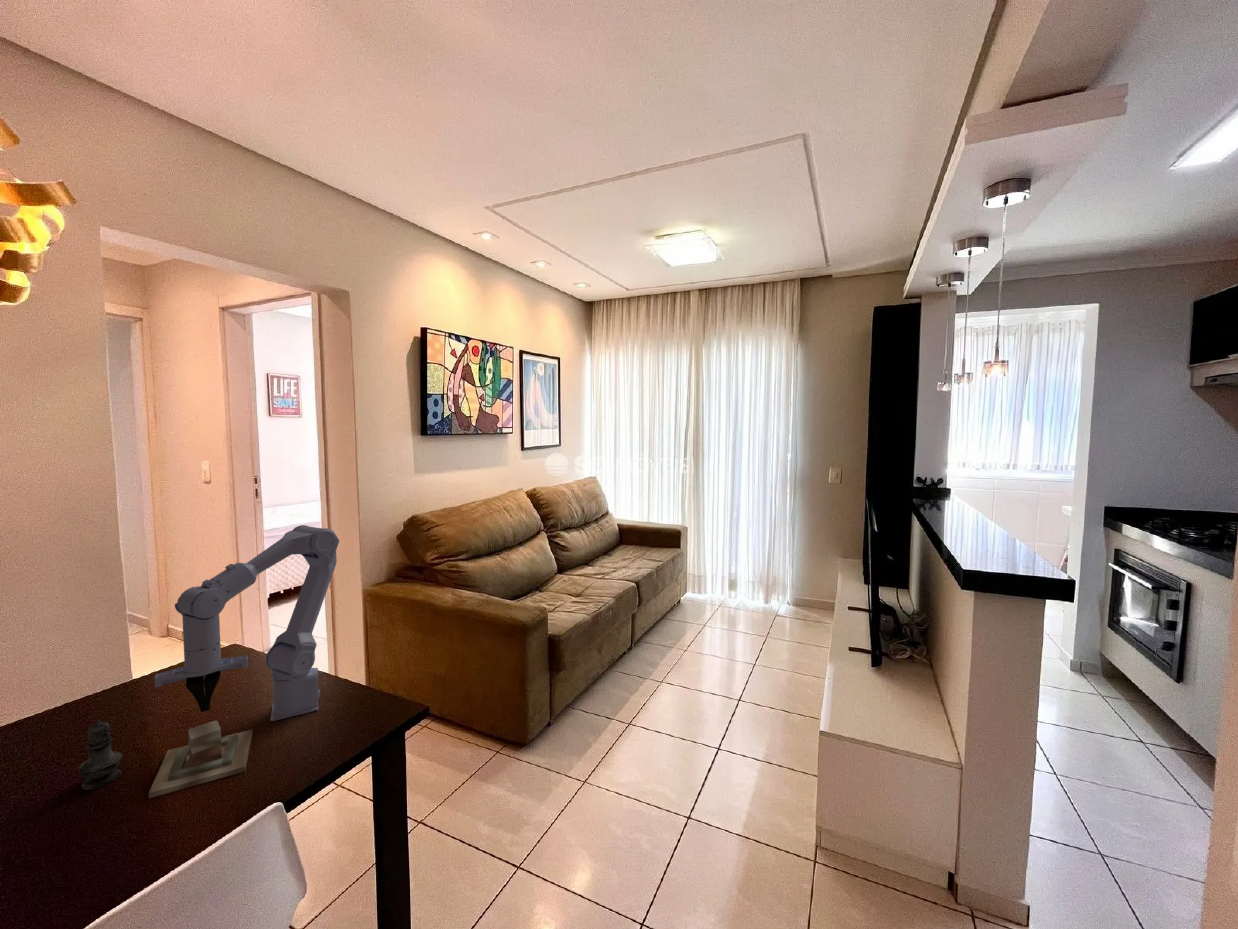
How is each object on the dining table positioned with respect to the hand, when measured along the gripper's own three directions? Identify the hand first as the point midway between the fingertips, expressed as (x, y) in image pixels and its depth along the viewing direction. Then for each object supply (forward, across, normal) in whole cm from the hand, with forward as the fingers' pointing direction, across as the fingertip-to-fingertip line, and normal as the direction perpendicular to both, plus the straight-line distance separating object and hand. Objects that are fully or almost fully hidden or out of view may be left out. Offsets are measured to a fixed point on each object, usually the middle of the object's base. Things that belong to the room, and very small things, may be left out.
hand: (205, 709), depth 101 cm
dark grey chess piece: (+10, +16, -1) cm, 18 cm away
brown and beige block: (+8, 0, +4) cm, 9 cm away
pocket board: (+9, 0, +4) cm, 10 cm away
